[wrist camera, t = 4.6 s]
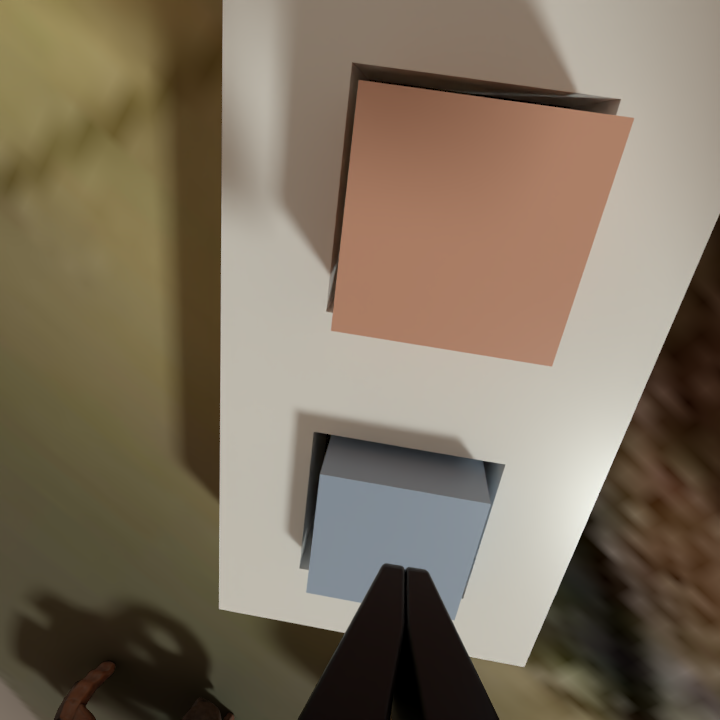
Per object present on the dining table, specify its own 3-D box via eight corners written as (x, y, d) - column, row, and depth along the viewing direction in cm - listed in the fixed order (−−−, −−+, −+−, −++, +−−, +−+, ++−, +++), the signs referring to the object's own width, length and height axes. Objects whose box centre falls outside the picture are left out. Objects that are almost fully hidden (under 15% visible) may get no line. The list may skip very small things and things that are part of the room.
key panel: (720, -4, 13) (835, -56, 9) (507, 580, 22) (524, 666, 19) (275, -60, 14) (223, -129, 10) (250, 534, 23) (219, 608, 19)
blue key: (479, 444, 17) (491, 503, 14) (449, 550, 19) (454, 620, 16) (335, 419, 17) (319, 474, 14) (322, 527, 19) (306, 592, 17)
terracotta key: (583, 121, 12) (634, 118, 9) (526, 320, 14) (552, 366, 11) (373, 91, 12) (358, 79, 9) (348, 292, 14) (330, 330, 11)
